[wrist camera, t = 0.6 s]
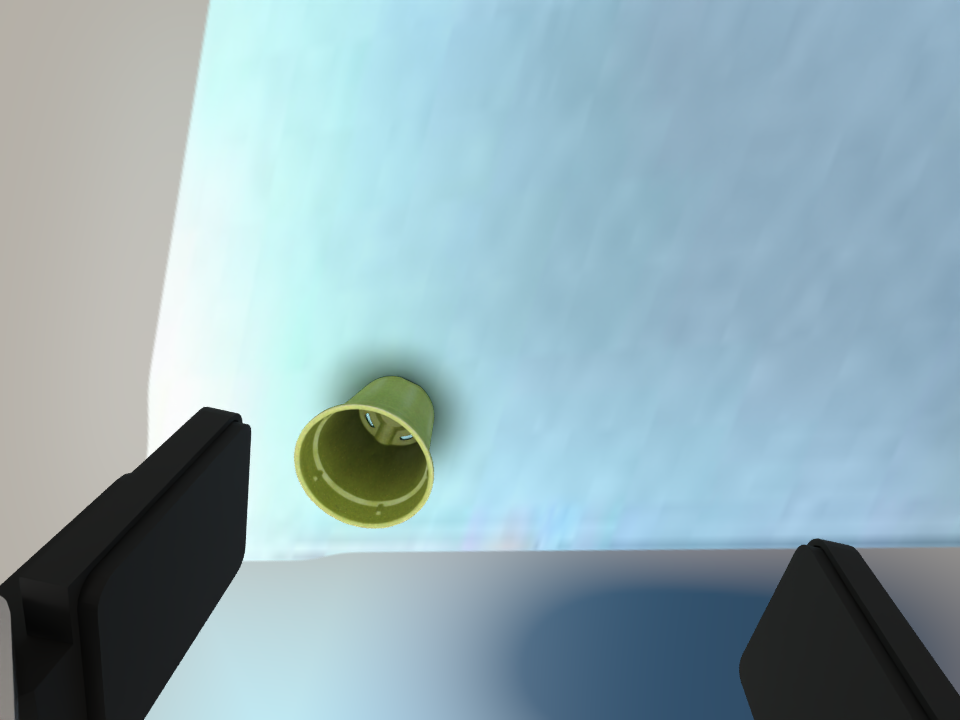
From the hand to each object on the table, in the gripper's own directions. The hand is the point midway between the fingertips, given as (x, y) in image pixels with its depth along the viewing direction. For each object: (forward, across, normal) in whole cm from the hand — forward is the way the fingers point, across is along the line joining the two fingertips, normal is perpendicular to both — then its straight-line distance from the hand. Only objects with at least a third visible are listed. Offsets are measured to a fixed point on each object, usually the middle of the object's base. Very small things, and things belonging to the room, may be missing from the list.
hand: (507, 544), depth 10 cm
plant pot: (+34, +7, +17) cm, 39 cm away
